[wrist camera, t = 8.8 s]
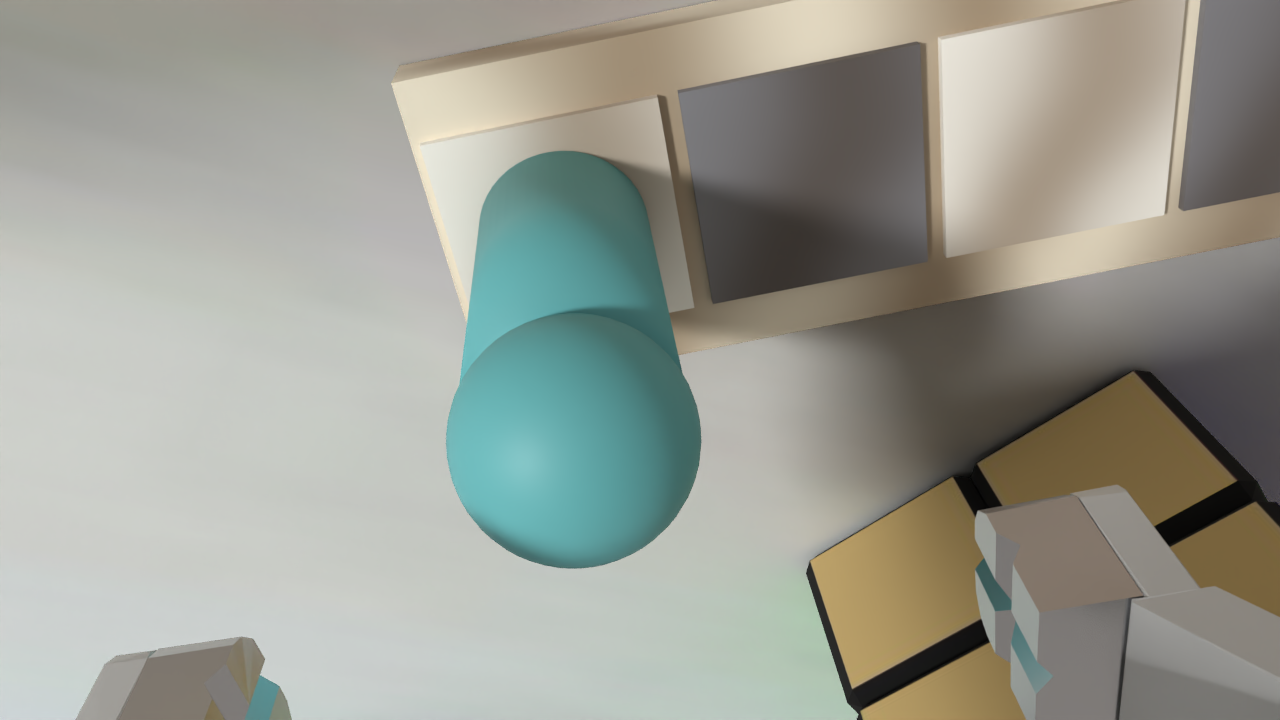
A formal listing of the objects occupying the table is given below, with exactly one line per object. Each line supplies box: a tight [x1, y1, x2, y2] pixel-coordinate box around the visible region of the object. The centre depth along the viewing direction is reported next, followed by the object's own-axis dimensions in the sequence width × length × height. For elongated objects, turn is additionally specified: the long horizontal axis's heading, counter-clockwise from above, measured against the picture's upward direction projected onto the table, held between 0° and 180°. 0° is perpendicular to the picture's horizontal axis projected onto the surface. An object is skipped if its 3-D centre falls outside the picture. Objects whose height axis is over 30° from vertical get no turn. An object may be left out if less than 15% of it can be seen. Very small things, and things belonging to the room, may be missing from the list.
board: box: [391, 0, 1280, 355], centre depth 21 cm, size 20×7×1 cm, turn 100°
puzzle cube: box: [806, 370, 1280, 720], centre depth 24 cm, size 10×10×10 cm
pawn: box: [446, 151, 701, 568], centre depth 17 cm, size 4×4×9 cm
